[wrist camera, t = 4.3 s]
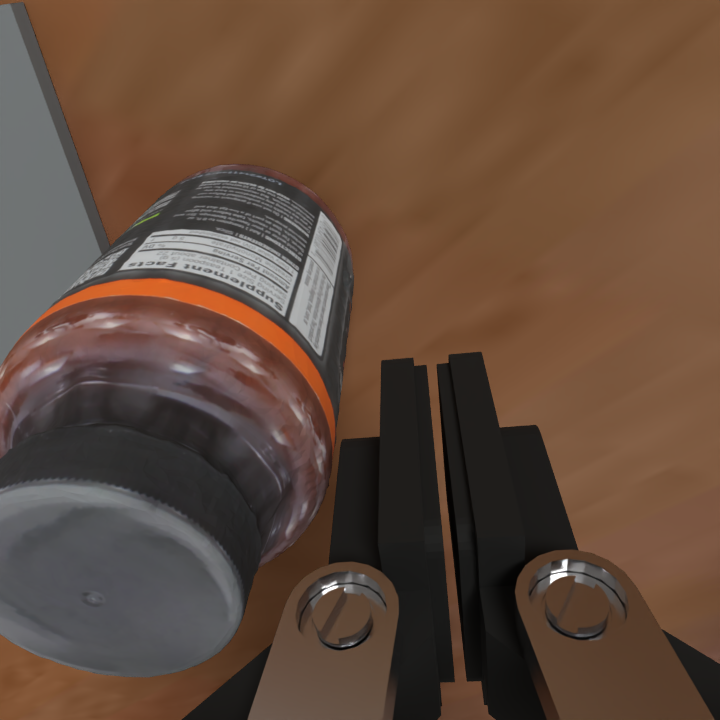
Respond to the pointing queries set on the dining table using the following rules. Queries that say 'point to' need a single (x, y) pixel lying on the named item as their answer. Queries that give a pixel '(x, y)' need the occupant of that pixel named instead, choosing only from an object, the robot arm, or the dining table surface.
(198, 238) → the supplement bottle
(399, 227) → the dining table surface
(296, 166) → the dining table surface
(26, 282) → the mat
